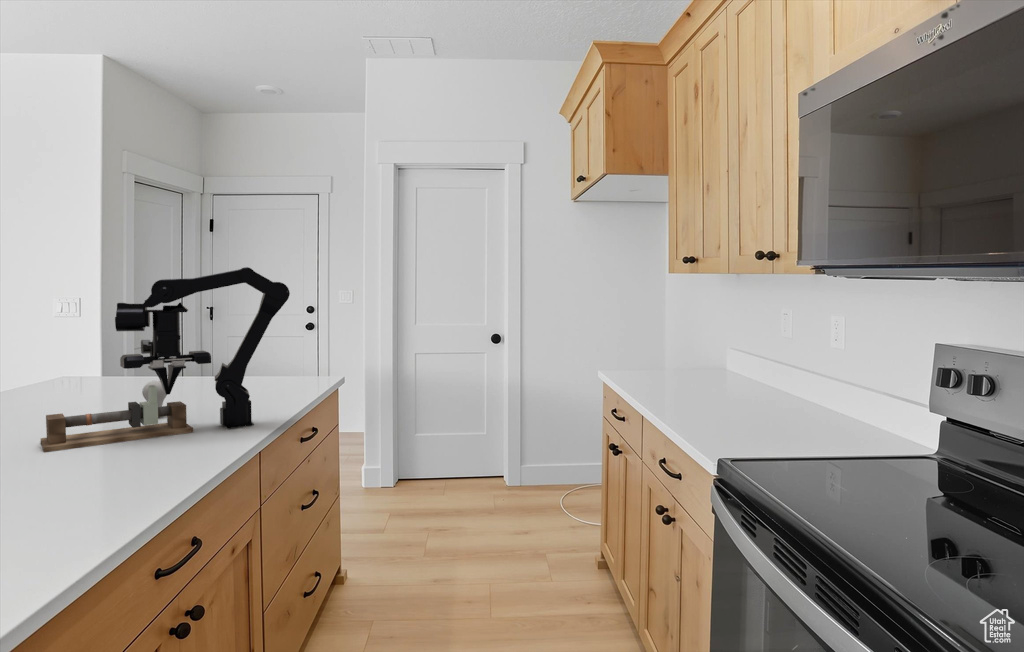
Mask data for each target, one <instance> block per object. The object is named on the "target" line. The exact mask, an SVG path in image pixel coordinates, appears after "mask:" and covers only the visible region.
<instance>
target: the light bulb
mask: <svg viewBox="0 0 1024 652" xmlns="http://www.w3.org/2000/svg"><path fill="white" fill-rule="evenodd" d="M148 385H154V386H156V387H157V404H158V407H162V406H163V404H164V400H165V399H166V398H167V396H168V395H166V394H165V392H164V389H163V387H162V384H161V382H160V380H157V379H156V380H151V381H148V382H147V383H145V385H144V386H143V388H142V393H141V394H142V397H143V398H144V400H145V402H147V401H148Z"/></svg>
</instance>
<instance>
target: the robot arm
mask: <svg viewBox="0 0 1024 652" xmlns="http://www.w3.org/2000/svg"><path fill="white" fill-rule="evenodd" d="M240 284H247V285H248V286H250V287H252V288H253V289H255V290H257V291H259V292H261V293H262V297H261V299H260V303H259V308H258V310H257V313H256V315H255V317H254V319H253V321H252V323H250V326H249V328H248V330H247V332H246V334H245V336H244V337H243V338H242V341H241V343H240V345H239V347H238V348H237V350H236V351H235V352H236V353H235V354H234V356H233V358H232V359H231V361H230V362H228V364H225V363H224V362H222V363H221V365H220V369H219V371H218V372H217V374H215V375H214V381H215V392H216V394H218V396H220V397H222V398H223V399H224V401H222V402H221V403H222V405H221V407H220V409H219V422H220V424H219V425H221V426H223V427H224V428H226V429H235V428H243V427H248V426H254V425H255V423H254V422H253V421H252V400H251V399H250V397H251V396H250V393H249V390H248V389H247V388H246V387H245V386H244V385H243V382H244V378H245V374H246V371H247V367H248V365H249V363H250V361H251V359H252V357H253V355H254V353H255V351H256V349H257V348H258V346H259V344H260V342H261V340H262V339H263V337H264V334H265V333H266V330H267V328H268V327H269V325H270V323H271V321H272V319H273V318H274V317H275V315H276V314H277V313H278V312H279V311H280V310H281V309H282V307H283V306H285V304H286V302H287V301H288V300H289V297H290V294H291V293H290V289H289V287H288V286H287V285H286V284H285V283H283V282H282V281H281V282H280V281H273V280H271V279H268V278H267V277H265V276H263V275H261V274H260V273H257V272H256V271H254V269H252V268H251V267H248V266H246V267H241V268H240V269H239V268H238V269H235V270H230V271H224V272H219V273H214V274H213V273H212V274H209V275H203V276H198V277H192V278H189V277H188V278H168V279H167V278H164V279H163V278H162V279H159V280H157V281H155V282H154V283H153V284H152V286H151V288H150V289H151V290H150V292H151V294H150V295H149V296H148V298H147V299H145V300H144V302H143V303H127V302H117V303H116V312H115V317H114V324H115V331H116V332H145V329H146V327H147V328H150V327H151V315H150V314H151V313H152V340H151V339H141V340H140V353H141V354H140V353H132V354H129V353H128V354H122V355H121V357H120V358H119V361H120V362H119V363H120V367H121V368H122V369H128V370H129V369H141V368H142V367H143V366H144V365H148V366H147V367H148V369H149V370H151V371H154V372H155V373H156V375H157V377H158V379H159V381H160V382H161V384H162V387H163V389H164V392H165V394H166V395H167V396H168V395H171V392H172V391H173V388H174V385H175V383H176V380H177V378H178V376H179V375H180V373H181V372H182V370H183V369H187V366H186V365H185V364H186V363H187V362H194V363H196V364H198V365H204V364H205V365H207V364H212V355H211V353H210V352H208V351H206V350H192V351H190V350H189V351H188V354H187V353H186V354H181V330H180V328H181V324H180V323H181V322H180V321H181V320H180V317H181V316H180V313H187V312H188V311H189V309H188V308H187V307H186V306H184V305H183V302H178V303H177V305H170V304H169V303H173V302H175V301H177V300H180V299H183V298H186V297H188V296H191V295H193V294H197V293H200V292H204V291H211V290H216V289H220V288H225V287H230V286H235V285H240ZM160 304H164V305H162V309H148V308H154V307H156V306H158V305H160ZM166 304H169V305H166ZM144 354H149V356H144ZM165 364H167V367H166V366H165Z"/></svg>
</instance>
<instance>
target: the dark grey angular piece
mask: <svg viewBox="0 0 1024 652" xmlns="http://www.w3.org/2000/svg"><path fill="white" fill-rule="evenodd" d="M127 407H128V408H127V410H132V420H128V425H129V426H130V427H133V428H135V427H141V426H142V423H141V419H140V405H139V403H138V401H128V402H127Z"/></svg>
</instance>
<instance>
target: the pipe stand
mask: <svg viewBox="0 0 1024 652" xmlns="http://www.w3.org/2000/svg"><path fill="white" fill-rule="evenodd" d="M159 417H161V418H162V417H166V418H167V419H166V421H167V422H163V423H161V422H160V423H158V424H151V425H141V427H135V428H133V427H132V426H130V427H122V428H114V429H107V430H97V431H88V432H82V433H72V434H67V429H66V428H72V427H73V428H75V427H82V426H92V425H100V424H108V423H115V422H116V423H117V422H125V421H129V420H132V410H128V409H126V410H118V411H117V410H116V411H109V412H108V411H107V412H97V413H85V414H79V415H71V416H65V415H64V414H63V413H54V414H46V415H45V424H46V437H42V438H41V437H40V445H41V447H42V450H43V452H44V453H48V452H56V451H62V450H69V449H76V448H77V449H78V448H85V447H93V446H101V445H107V444H115V443H116V444H117V443H121V442H122V443H123V442H130V441H137V440H144V439H145V440H146V439H151V438H160V437H167V436H174V435H181V434H183V435H184V434H189V433H194V427H193V426H191V425H190V424H189V423H187V421H188V420H187V417H188V416H187V404H185V403H184V402H183V401H180V400H179V401H170V402H166V405H164V406H163V405H162V407H158V418H159ZM140 419H143V409H140Z"/></svg>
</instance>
